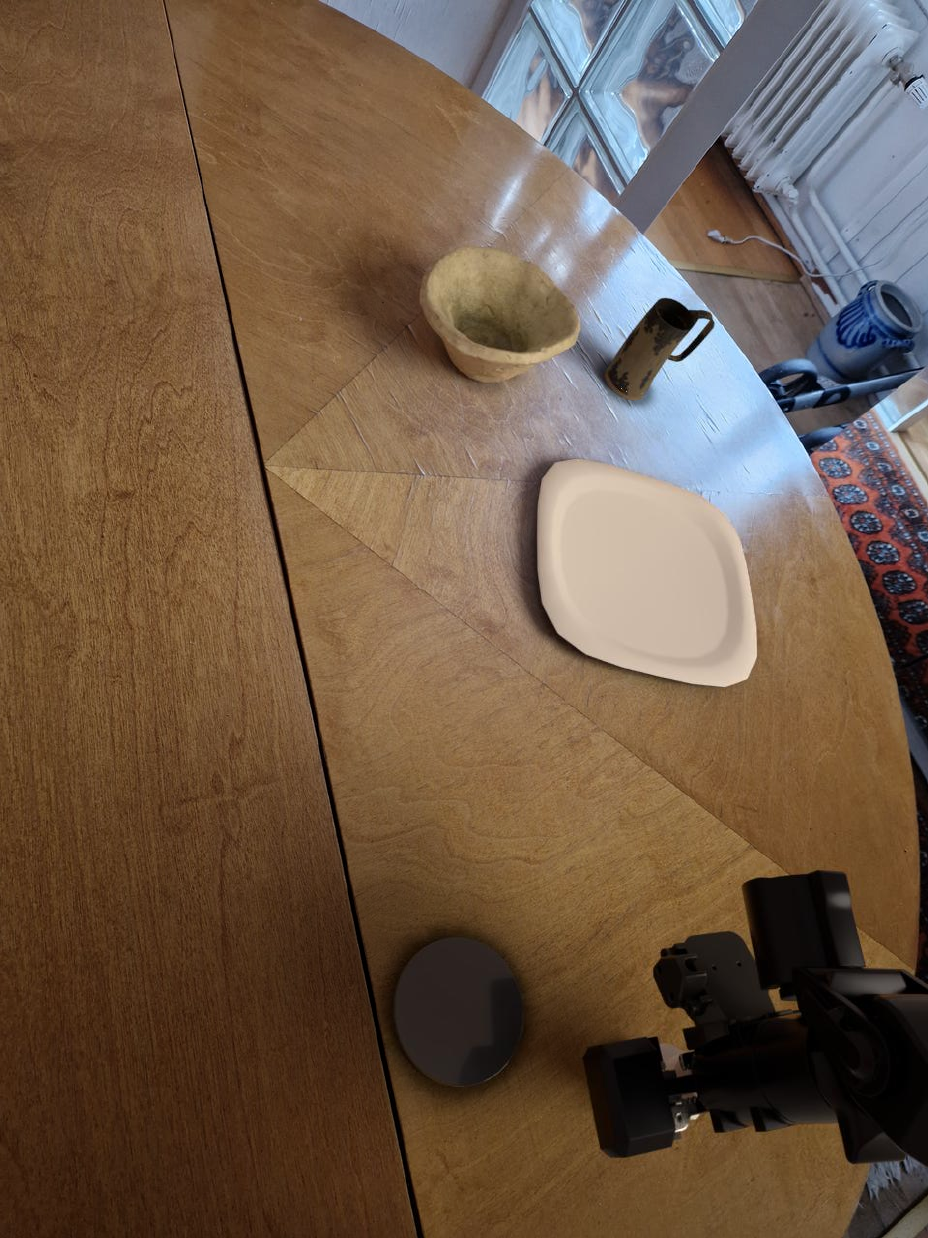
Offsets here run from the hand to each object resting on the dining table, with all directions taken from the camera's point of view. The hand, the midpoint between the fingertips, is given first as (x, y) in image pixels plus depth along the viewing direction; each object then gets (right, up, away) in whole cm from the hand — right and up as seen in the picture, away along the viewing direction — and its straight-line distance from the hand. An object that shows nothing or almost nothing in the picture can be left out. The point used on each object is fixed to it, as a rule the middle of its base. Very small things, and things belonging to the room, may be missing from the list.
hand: (654, 1084), depth 65 cm
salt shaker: (-1, -1, +2) cm, 3 cm away
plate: (+5, +38, +28) cm, 48 cm away
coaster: (-14, +5, 0) cm, 15 cm away
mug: (+7, +62, +43) cm, 76 cm away
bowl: (-12, +64, +36) cm, 74 cm away
